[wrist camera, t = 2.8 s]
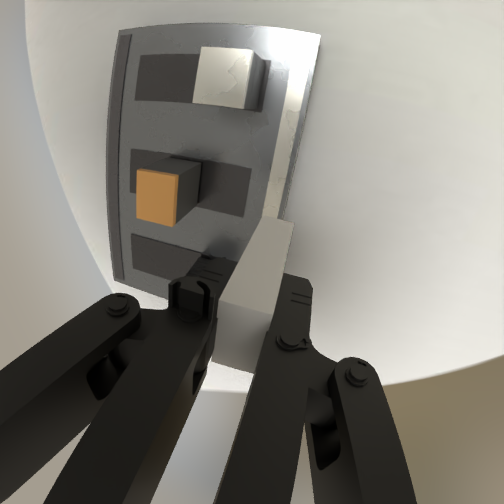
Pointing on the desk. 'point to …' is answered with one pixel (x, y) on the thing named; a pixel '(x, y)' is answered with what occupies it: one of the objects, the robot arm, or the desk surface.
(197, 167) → the toggle
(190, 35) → the panel
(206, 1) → the desk surface
